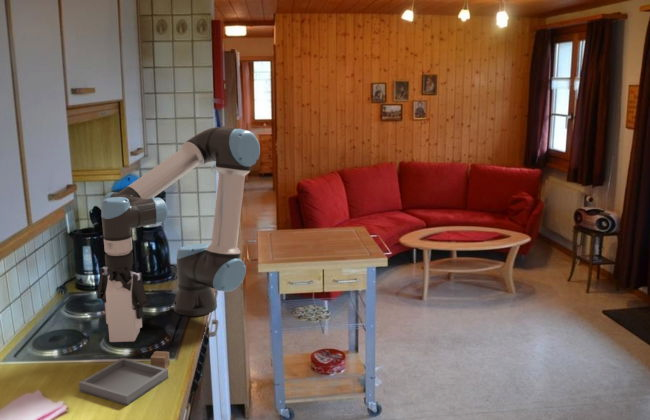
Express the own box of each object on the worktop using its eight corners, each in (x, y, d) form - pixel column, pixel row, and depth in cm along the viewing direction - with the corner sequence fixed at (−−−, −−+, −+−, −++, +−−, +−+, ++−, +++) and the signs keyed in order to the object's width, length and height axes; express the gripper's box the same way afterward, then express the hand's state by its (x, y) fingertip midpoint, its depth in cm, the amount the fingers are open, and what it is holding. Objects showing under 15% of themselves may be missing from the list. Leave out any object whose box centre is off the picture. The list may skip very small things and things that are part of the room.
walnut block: (155, 363, 174) (155, 351, 173) (169, 364, 174) (169, 351, 173) (151, 370, 170) (150, 357, 170) (165, 371, 170) (164, 358, 169)
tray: (123, 365, 173) (122, 357, 172) (168, 377, 166) (168, 369, 166) (79, 391, 158) (78, 382, 158) (127, 405, 152) (126, 396, 151)
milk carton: (115, 332, 181) (110, 271, 177) (140, 331, 182) (135, 271, 177) (109, 342, 174) (104, 280, 170) (134, 341, 175) (130, 279, 170)
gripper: (79, 250, 173) (85, 323, 178) (140, 261, 164) (145, 337, 169) (98, 243, 180) (104, 314, 185) (158, 253, 171) (163, 327, 176)
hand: (124, 325), depth 177 cm, fingers closed on milk carton, 10 cm apart
